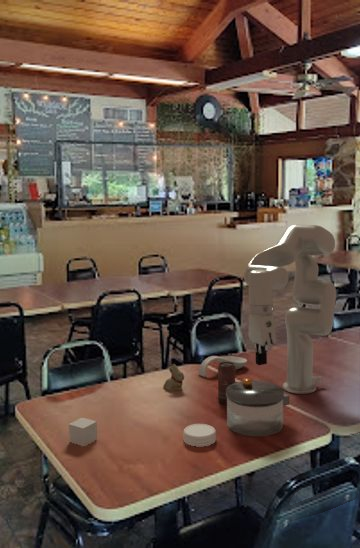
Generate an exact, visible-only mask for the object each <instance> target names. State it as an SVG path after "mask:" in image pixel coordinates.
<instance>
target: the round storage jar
mask: <svg viewBox="0 0 360 548" xmlns="http://www.w3.org/2000/svg"><path fill="white" fill-rule="evenodd" d="M234 383H236V381H235V382H234ZM234 383H228V386H229V385H231V384H234ZM285 406H290V395H289V394H287V393H285V392H284V398H283V400H282V401H280V402H279V403H276V404H273V405H267V406H247V405H242V404H238V403H235V402H232V401H231V400H229V399H228V398H227V404H226V425H227V428H228V429H229V430H230V431H232V432H234V433H236V434H239V435H242V436H246V437H247V436H248V437H268V436H272V435H276V434H278V433H280V432H281V431H282V430H283V425H284V407H285Z"/></svg>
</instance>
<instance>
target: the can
mask: <svg viewBox="0 0 360 548" xmlns="http://www.w3.org/2000/svg"><path fill="white" fill-rule="evenodd" d="M236 371H237V370H236V369H235V365H234V363H231V362H222V363H220V362H219V363H218V366H217V390H218V391H217V400H218V402H219V403H221V404H224V405H227V397H226V388H227V387H228V383H234V382H235V383H236Z"/></svg>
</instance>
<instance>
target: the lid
mask: <svg viewBox="0 0 360 548" xmlns="http://www.w3.org/2000/svg"><path fill="white" fill-rule="evenodd" d="M284 393H285V390H284V389H283V387H281V386H280V385H278V384H275V383H272V382H267V381H262V380H253V379H252V378H248V377H247V378H246V377H245V378H242V381H237V382H235V383H234V384H231V385H229V386H228V387H227V388H226V397H227V398H228V399H229V400H231V401H232V402H235V403H238V404H242V405H247V406H267V405H273V404H276V403H279V402H280V401H282V400H283V398H284Z"/></svg>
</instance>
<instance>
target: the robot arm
mask: <svg viewBox="0 0 360 548" xmlns="http://www.w3.org/2000/svg"><path fill="white" fill-rule="evenodd" d="M335 248H336V240H335V237H334V235H333V234H332V232H330V231H329V230H328V229H326V228H324V227H323V226H320V225H315V224H294V225H293V224H292V225H290V226H289V227H287V228H286V229H285V230H284V232H283V234H282V235H281V237H280V238H279V240H278V241H277V242H276V244H275V245H274V246H272V247H269V248H267V249H265V250H262V251H261V252H259V253H256V254H255V256H254V257H253V258H252V259H251V260H250V262H249V263H248V264H247V266H246V268H245V271H244V274H243V275H244V276H243V279H244V283H245V284H246V285H247V286H248V325H247V326H248V327H247V328H248V329H247V330H248V339H249V340H250V341H251V343H252V344H253V345H254V346H253V347H254V351H255V364H256V365H258V366H261V365H267V364H268V361H267V359H268V355H267V353H268V351H271V350H272V345H274V346H275V345H276V342H277V340H276V339H277V337H276V336H277V335H276V324H275V322H276V321H275V317H274V314H273V311H274V308H273V305H274V304H273V302H274V301H273V298H274V296H273V294H274V293H273V291H278V290H282V289H284V288H285V287H286V286H287V284H288V282H289V277H290V276H289V272H288V271H287V269H286V268H285V266H289V265H292V264H293V263H295V264H294V265H295V270H294V271H295V272H294V280H293V287H292V299H293V301H294V302H295V303H297V304H300V305H309V306H319V307H320V308H312V307H302V306H296V307H295V306H294V307H291V308H289V309H288V310H287V311H286V313H285V315H284V320H285V321H284V322H285V328H286V339H287V340H286V341H287V349H286V350H287V352H286V353H287V355H286V356H287V357H286V359H287V360H286V362H287V363H286V364H287V365H286V381H285V382H283V384H282V388H283V390H284V391H286V392H288V393H292V394H296V395H297V394H298V395H303V394H304V395H307V394H312V393H314V392H315V391H317V385H316V383H321V382H323V381H324V377H323V376H316V375H313V372H314V371H313V367H314V366H313V365H314V363H313V362H314V360H313V359H314V343H313V340H312V338H311V336H310V335H316V336H328V335H330V334H331V332H332V329H333V325H334V317H335V309H336V301H337V290H336V286H335V284H334V283H333V282H331V281H330V280H324V279H323V280H321V279H318V276H319V265H318V263H317V261H316V260H315V258H314V257H313V256H329V255H331V254H333V252H334V250H335Z"/></svg>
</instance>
